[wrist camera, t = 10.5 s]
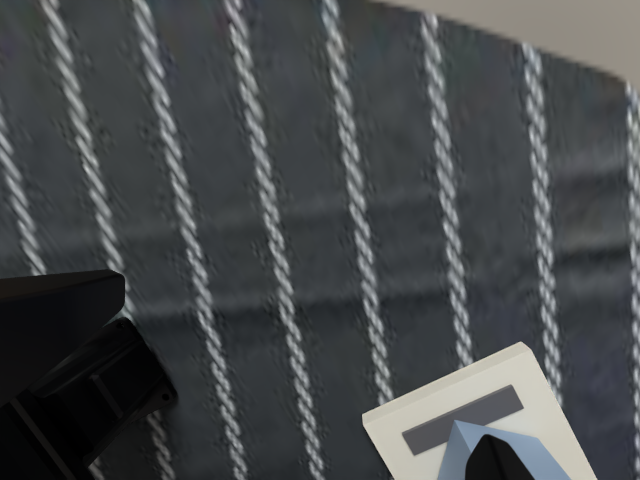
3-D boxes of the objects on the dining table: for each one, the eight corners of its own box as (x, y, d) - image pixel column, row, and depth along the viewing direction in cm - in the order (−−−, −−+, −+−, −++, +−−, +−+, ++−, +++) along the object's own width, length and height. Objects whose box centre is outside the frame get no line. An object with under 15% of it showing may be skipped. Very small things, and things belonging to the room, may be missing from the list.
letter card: (437, 545, 22) (443, 565, 21) (362, 414, 21) (363, 427, 20) (594, 484, 20) (609, 501, 19) (521, 341, 19) (532, 350, 18)
